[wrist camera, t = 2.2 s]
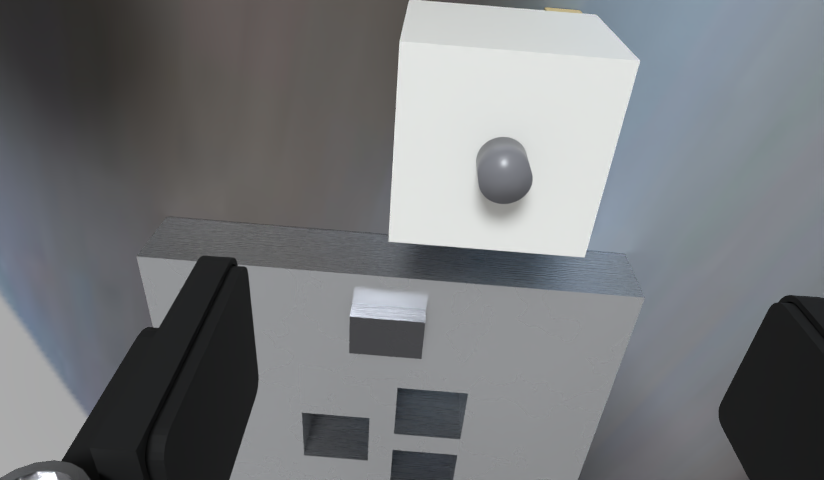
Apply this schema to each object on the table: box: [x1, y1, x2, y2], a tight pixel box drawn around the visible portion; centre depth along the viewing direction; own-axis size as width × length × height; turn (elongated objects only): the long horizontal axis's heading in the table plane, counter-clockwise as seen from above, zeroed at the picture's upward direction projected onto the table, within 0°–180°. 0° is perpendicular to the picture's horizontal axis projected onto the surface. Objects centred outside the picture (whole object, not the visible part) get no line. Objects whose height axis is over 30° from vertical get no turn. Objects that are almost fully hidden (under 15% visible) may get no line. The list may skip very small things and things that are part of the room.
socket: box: [137, 217, 645, 480], centre depth 29 cm, size 20×20×4 cm
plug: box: [389, 0, 640, 258], centre depth 18 cm, size 6×6×8 cm
